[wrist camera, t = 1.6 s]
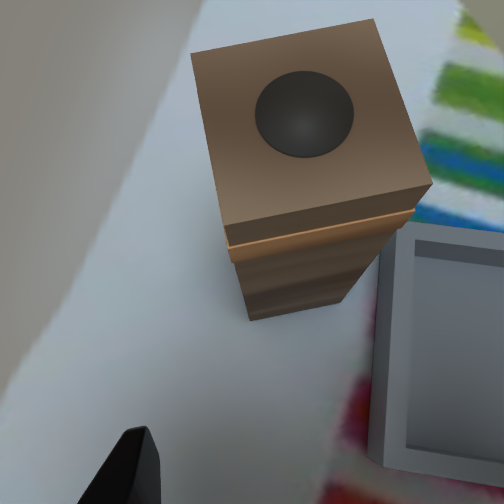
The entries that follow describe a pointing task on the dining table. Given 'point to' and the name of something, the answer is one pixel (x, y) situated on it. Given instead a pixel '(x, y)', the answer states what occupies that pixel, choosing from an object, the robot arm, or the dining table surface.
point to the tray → (440, 354)
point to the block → (307, 161)
